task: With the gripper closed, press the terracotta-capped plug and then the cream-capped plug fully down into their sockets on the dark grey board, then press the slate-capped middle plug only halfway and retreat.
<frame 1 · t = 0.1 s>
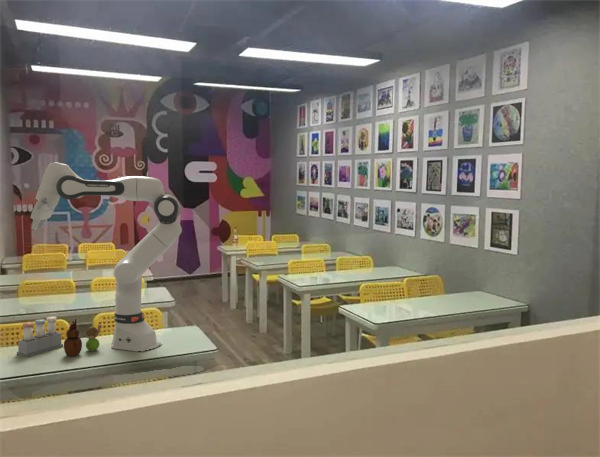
hand: (36, 228, 221), 52 cm above the table, tool tilted 20°, fingers open, 8 cm apart
slate plug: (40, 329, 220), point 9 cm above the table, slide at 0.0 cm
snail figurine: (93, 350, 222), on the table
cream plug: (51, 326, 225), point 9 cm above the table, slide at 0.0 cm
wooden figurine: (72, 355, 215), on the table
socket board: (40, 350, 220), on the table
terracotta plug: (28, 332, 215), point 9 cm above the table, slide at 0.0 cm
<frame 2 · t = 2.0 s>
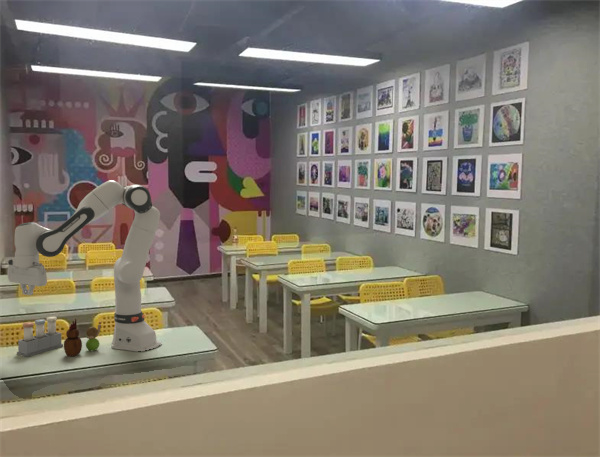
hand: (27, 294, 214), 25 cm above the table, tool pointing down, fingers closed
nothing on the table moved.
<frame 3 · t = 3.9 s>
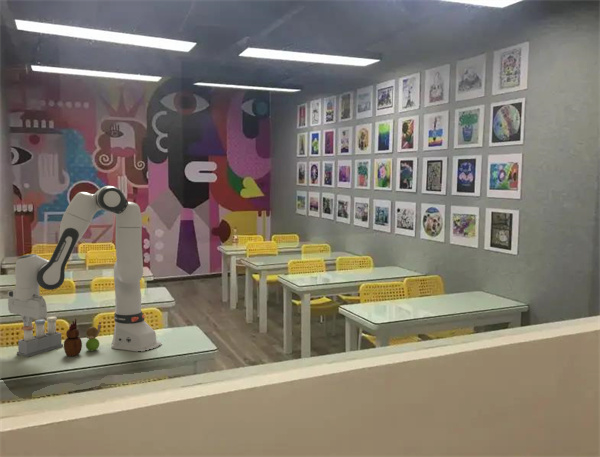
hand: (27, 326, 215), 12 cm above the table, tool pointing down, fingers closed, pressing on terracotta plug
terracotta plug: (28, 335, 215), point 8 cm above the table, slide at 1.3 cm, touching gripper
everything else where it was.
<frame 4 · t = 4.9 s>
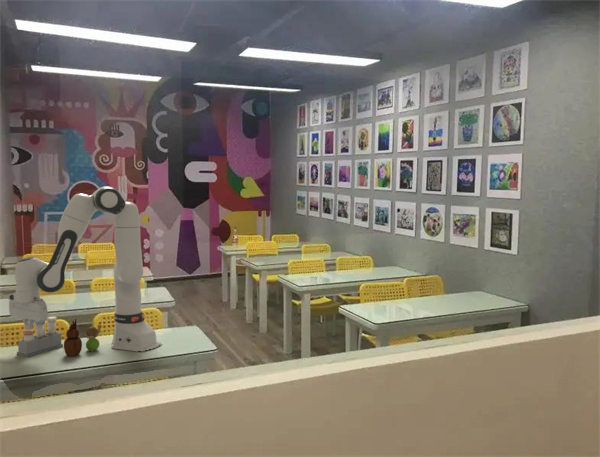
hand: (29, 329, 215), 11 cm above the table, tool pointing down, fingers closed
terracotta plug: (28, 340, 215), point 6 cm above the table, slide at 3.2 cm
everything else where it was.
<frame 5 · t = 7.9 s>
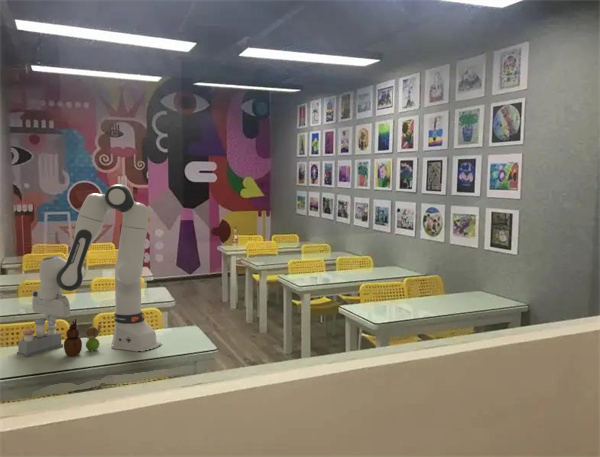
hand: (51, 324, 225), 10 cm above the table, tool pointing down, fingers closed, pressing on cream plug
cream plug: (51, 333, 225), point 6 cm above the table, slide at 3.1 cm, touching gripper
everything else where it was.
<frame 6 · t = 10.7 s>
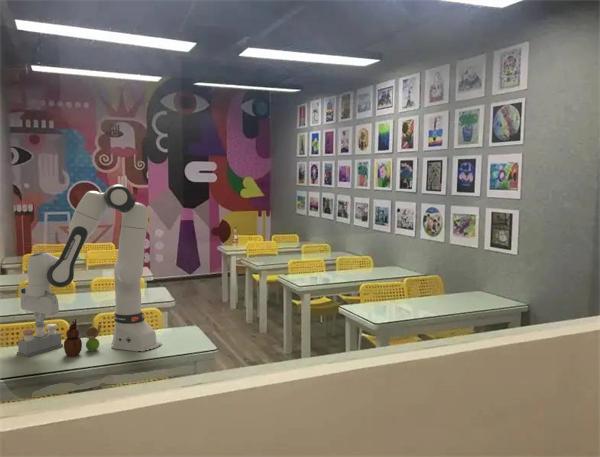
hand: (39, 322, 219), 12 cm above the table, tool pointing down, fingers closed, pressing on slate plug
slate plug: (40, 331, 220), point 8 cm above the table, slide at 0.9 cm, touching gripper
cream plug: (51, 333, 225), point 6 cm above the table, slide at 3.2 cm
everything else where it was.
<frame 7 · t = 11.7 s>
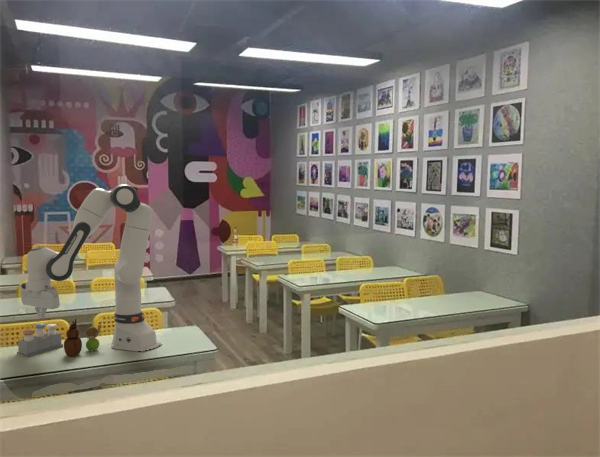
hand: (41, 316, 220), 14 cm above the table, tool pointing down, fingers closed
slate plug: (40, 333, 220), point 7 cm above the table, slide at 1.6 cm
everything else where it was.
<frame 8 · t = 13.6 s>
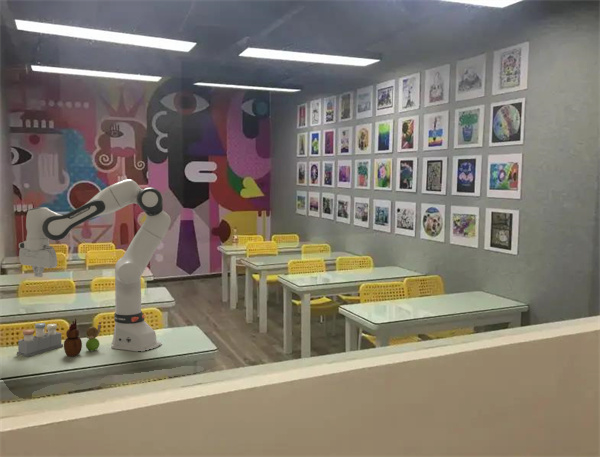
hand: (38, 276, 222), 31 cm above the table, tool pointing down, fingers closed
nothing on the table moved.
at the end: terracotta plug slide at 3.2 cm; cream plug slide at 3.2 cm; slate plug slide at 1.6 cm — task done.
